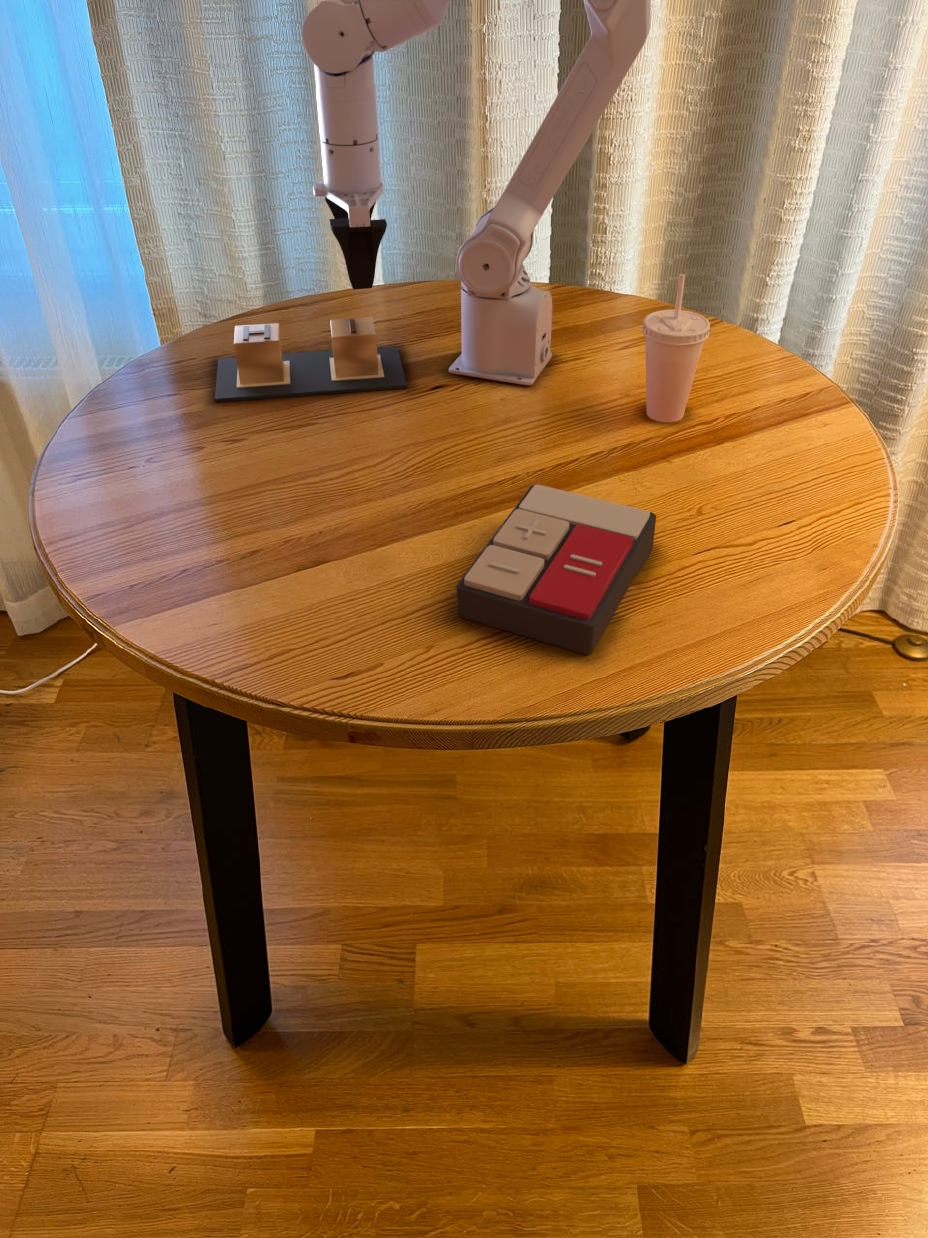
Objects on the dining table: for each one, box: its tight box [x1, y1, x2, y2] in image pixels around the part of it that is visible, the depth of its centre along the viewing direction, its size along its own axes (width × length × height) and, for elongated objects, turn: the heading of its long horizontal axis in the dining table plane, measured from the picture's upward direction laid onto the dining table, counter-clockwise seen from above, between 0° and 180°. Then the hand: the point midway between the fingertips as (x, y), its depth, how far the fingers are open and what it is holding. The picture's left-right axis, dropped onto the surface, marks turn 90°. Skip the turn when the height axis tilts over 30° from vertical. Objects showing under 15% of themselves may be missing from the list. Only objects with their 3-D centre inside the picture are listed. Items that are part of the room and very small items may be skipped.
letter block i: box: [329, 316, 379, 378], centre depth 109 cm, size 5×5×5 cm
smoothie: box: [641, 273, 711, 424], centre depth 99 cm, size 6×6×14 cm
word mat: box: [214, 345, 408, 403], centre depth 111 cm, size 20×10×1 cm, turn 98°
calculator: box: [455, 484, 657, 655], centre depth 80 cm, size 11×4×15 cm
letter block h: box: [233, 322, 284, 384], centre depth 108 cm, size 5×5×5 cm
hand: (359, 274), depth 109 cm, fingers open, 7 cm apart
